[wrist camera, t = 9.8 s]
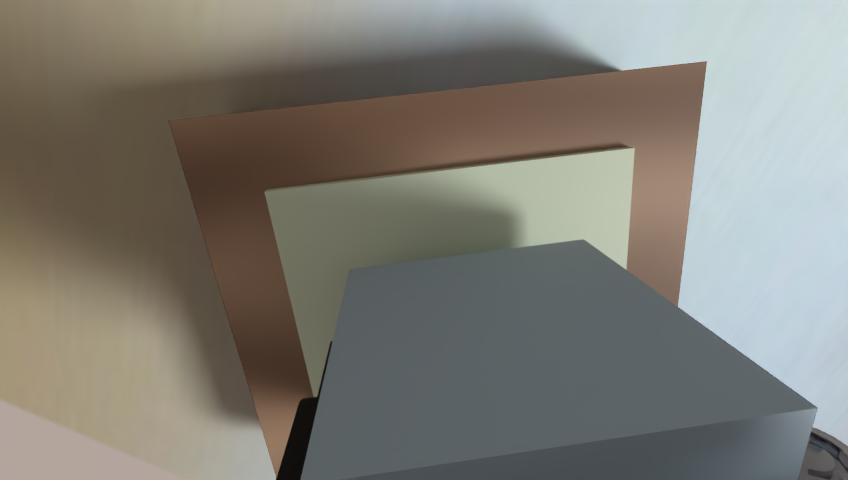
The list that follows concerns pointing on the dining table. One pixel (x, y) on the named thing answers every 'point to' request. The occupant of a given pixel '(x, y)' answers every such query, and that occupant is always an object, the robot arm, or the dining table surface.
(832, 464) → the robot arm
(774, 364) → the dining table surface
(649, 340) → the cube
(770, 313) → the dining table surface
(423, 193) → the plinth
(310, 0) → the dining table surface
